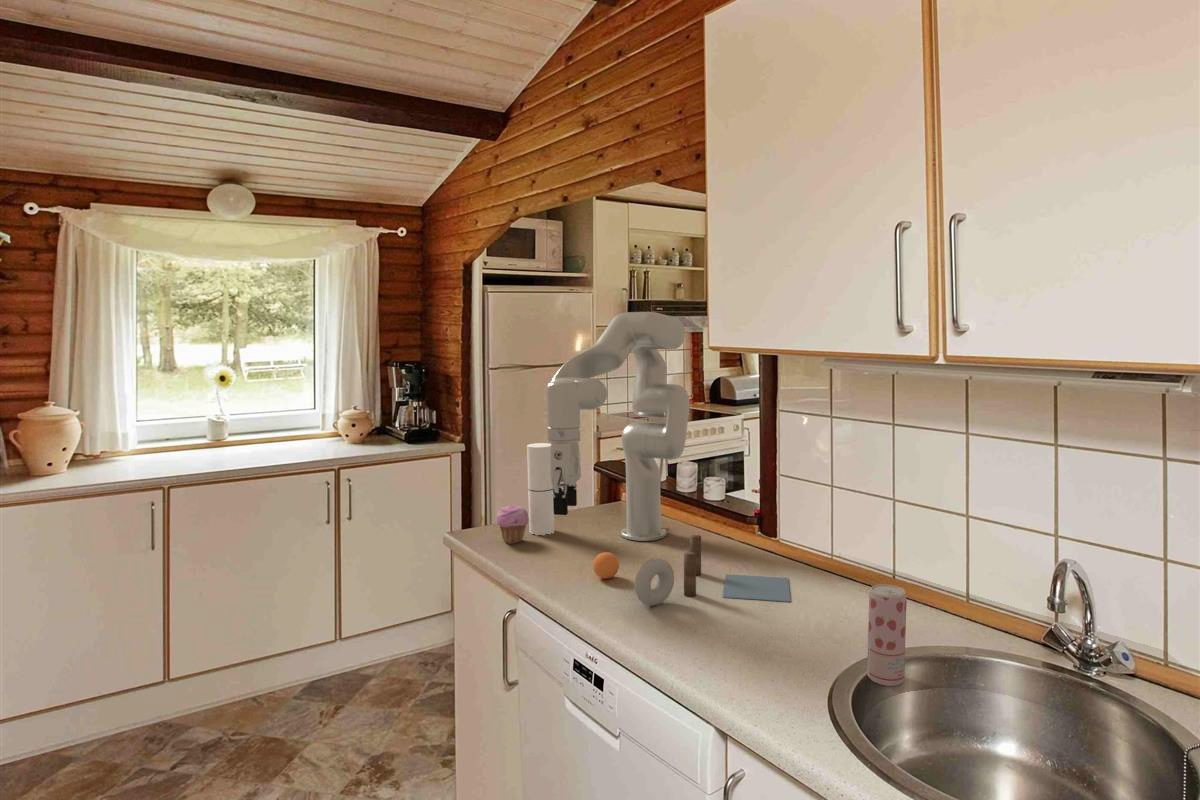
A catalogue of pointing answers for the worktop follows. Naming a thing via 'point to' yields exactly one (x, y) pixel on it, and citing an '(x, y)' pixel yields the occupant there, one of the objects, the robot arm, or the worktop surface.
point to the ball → (606, 565)
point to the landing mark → (756, 588)
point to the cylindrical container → (540, 489)
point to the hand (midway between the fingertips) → (565, 509)
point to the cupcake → (512, 523)
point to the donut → (645, 578)
